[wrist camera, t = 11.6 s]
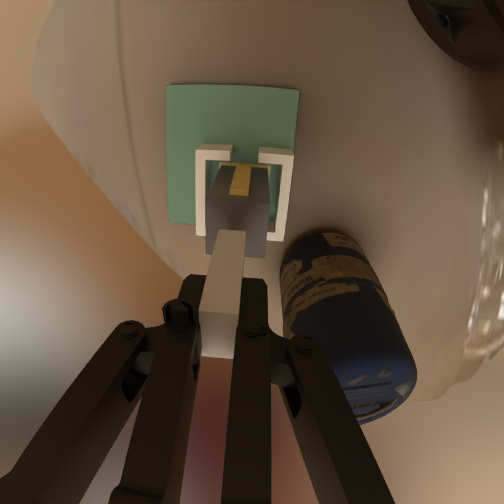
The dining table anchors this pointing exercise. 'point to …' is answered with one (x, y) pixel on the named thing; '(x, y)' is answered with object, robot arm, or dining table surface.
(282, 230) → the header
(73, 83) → the dining table surface
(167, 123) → the board
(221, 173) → the plug
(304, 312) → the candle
